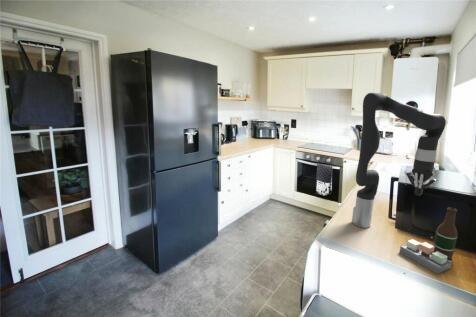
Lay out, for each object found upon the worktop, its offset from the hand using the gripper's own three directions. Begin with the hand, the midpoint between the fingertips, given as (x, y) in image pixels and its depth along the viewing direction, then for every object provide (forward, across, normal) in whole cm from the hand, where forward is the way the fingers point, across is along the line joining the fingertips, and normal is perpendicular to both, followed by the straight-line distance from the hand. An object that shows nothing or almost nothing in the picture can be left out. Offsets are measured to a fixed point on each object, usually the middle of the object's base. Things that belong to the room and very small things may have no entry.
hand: (417, 195), depth 120 cm
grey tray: (+29, +8, 0) cm, 30 cm away
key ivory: (+26, +2, 0) cm, 26 cm away
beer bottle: (+29, +9, +12) cm, 33 cm away
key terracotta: (+24, +8, 0) cm, 26 cm away
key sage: (+26, +14, 0) cm, 29 cm away
